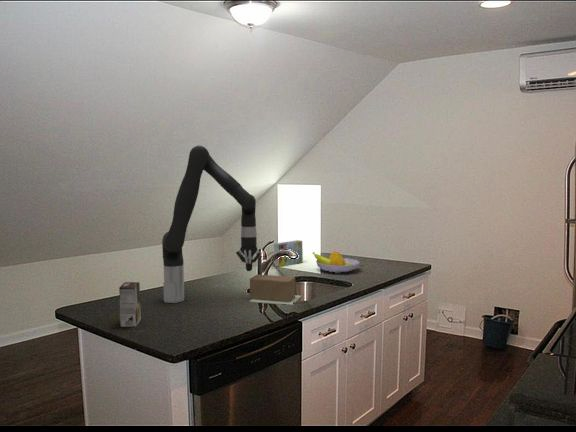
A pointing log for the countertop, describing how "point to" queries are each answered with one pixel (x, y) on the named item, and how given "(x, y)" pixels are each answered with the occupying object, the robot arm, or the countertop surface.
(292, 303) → the felt mat
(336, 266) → the fruit bowl
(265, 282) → the wooden block
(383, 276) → the countertop surface
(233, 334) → the countertop surface
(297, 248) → the snack box
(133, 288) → the coffee box
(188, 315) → the countertop surface
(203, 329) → the countertop surface
